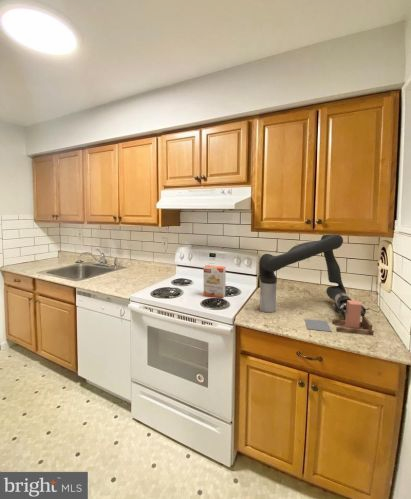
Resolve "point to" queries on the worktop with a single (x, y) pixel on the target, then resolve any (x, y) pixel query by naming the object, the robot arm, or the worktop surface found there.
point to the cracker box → (214, 281)
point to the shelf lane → (364, 324)
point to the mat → (317, 325)
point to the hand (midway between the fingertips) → (353, 314)
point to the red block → (353, 314)
